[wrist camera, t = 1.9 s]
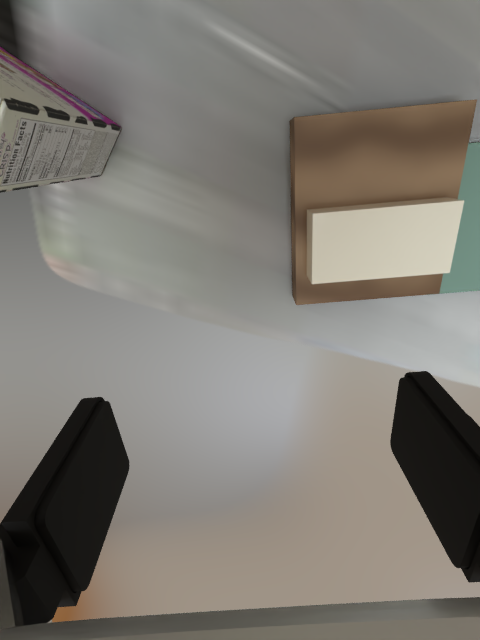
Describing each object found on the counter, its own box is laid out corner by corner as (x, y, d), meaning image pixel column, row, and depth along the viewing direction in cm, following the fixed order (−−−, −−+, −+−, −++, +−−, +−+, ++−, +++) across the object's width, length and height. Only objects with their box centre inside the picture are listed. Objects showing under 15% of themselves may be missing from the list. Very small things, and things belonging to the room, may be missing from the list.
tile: (306, 209, 29) (312, 213, 26) (446, 197, 28) (464, 200, 26) (306, 275, 31) (311, 284, 29) (434, 264, 31) (449, 272, 29)
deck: (289, 120, 28) (294, 117, 26) (457, 104, 27) (476, 99, 25) (292, 295, 35) (296, 305, 33) (426, 284, 34) (439, 293, 32)
